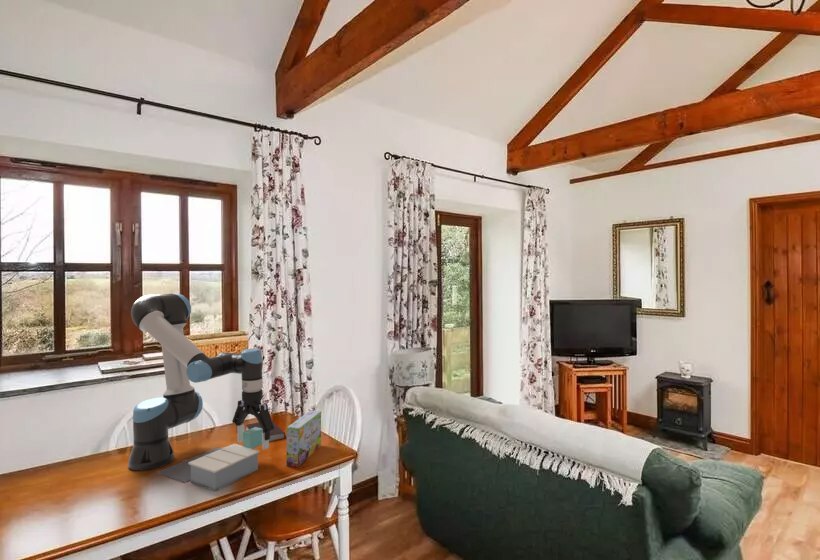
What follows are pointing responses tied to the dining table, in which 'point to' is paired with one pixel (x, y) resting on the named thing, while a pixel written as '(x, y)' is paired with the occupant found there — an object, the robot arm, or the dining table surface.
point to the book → (274, 433)
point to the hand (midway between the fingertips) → (253, 444)
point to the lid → (231, 452)
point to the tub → (224, 474)
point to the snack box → (303, 438)
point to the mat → (183, 469)
